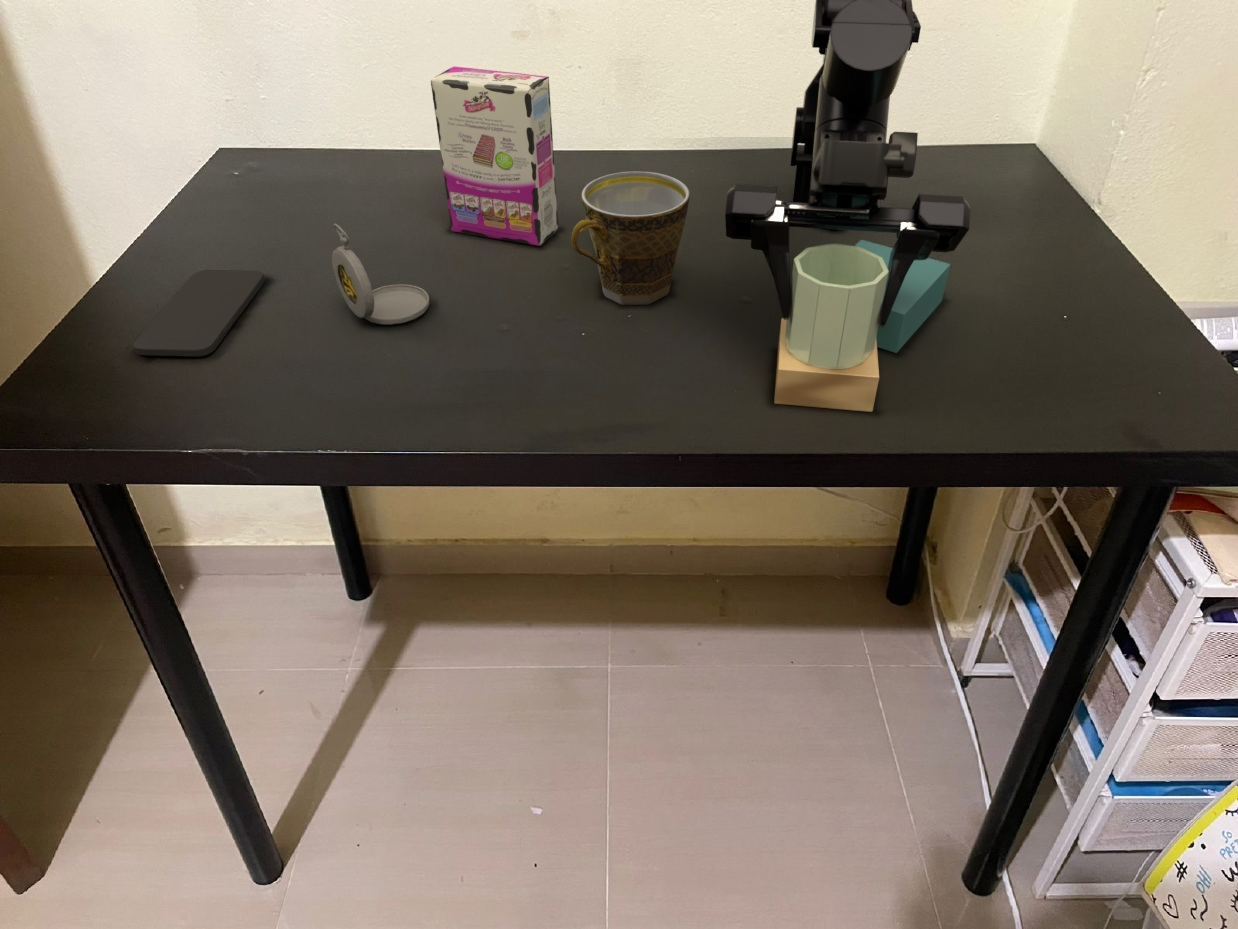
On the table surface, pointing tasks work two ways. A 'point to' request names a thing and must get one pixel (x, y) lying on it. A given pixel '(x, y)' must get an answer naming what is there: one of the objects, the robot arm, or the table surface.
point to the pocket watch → (380, 303)
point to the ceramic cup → (634, 233)
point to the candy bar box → (497, 153)
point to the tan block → (825, 382)
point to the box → (910, 298)
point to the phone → (200, 313)
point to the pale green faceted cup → (835, 305)
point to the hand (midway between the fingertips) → (833, 322)
